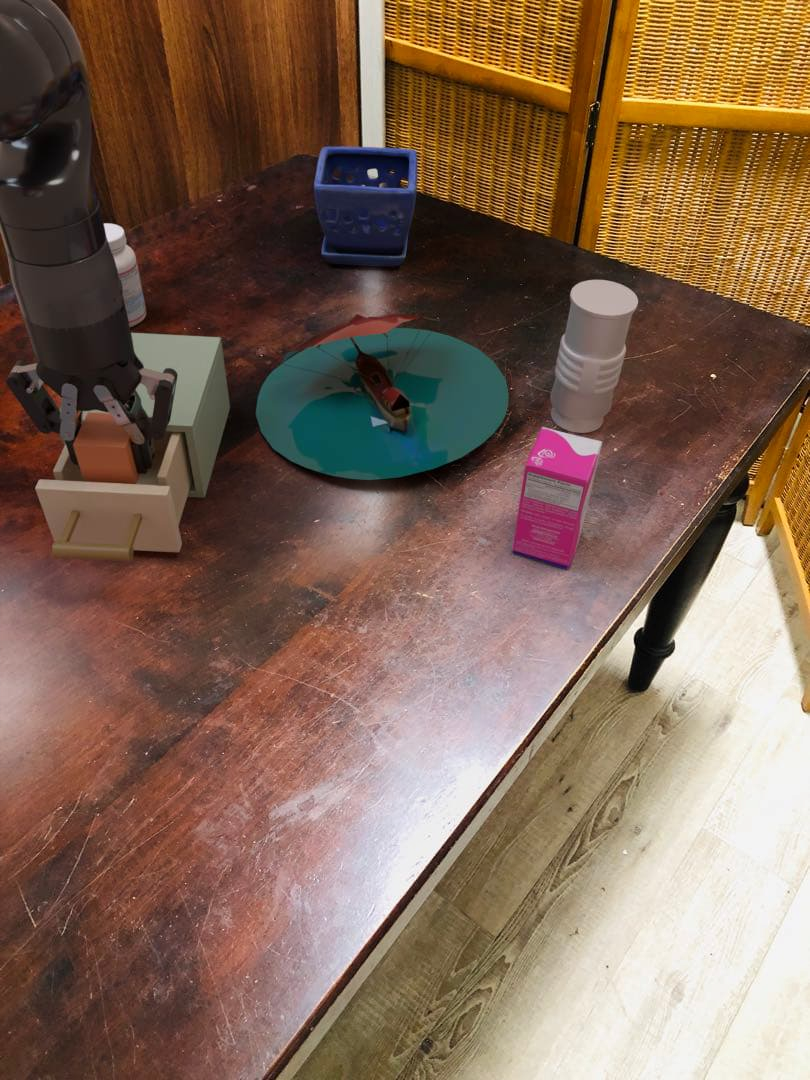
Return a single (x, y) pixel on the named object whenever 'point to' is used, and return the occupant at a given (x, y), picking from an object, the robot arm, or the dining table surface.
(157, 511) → the drawer
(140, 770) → the dining table surface
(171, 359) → the cabinet
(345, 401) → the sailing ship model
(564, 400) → the grey ribbed bottle
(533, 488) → the supplement box
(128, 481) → the block
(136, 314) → the pill bottle
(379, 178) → the flower pot
